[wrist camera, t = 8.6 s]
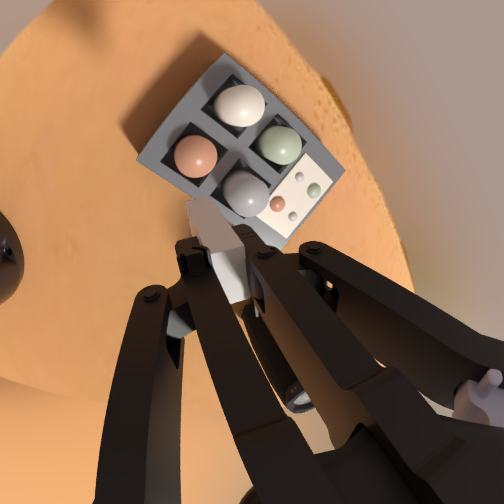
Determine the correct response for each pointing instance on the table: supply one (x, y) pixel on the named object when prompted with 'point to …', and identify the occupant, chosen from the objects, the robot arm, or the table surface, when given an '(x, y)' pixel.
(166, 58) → the table surface
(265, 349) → the portable speaker
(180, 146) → the button terracotta
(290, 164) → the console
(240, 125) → the button ivory
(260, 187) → the button grey
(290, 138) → the button sage
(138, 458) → the robot arm
